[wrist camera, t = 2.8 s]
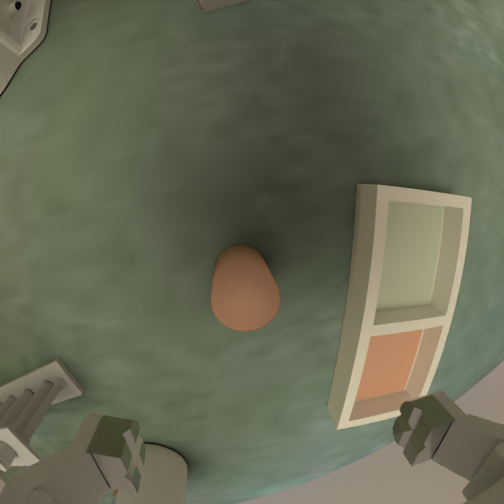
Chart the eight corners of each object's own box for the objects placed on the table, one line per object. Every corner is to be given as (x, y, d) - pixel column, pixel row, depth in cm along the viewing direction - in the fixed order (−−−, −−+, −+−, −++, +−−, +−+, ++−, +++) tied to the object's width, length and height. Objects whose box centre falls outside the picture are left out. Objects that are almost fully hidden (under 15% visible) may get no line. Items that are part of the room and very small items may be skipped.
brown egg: (213, 244, 22) (210, 267, 16) (267, 244, 23) (281, 267, 17) (214, 295, 23) (211, 331, 17) (265, 294, 24) (278, 330, 18)
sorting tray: (356, 183, 22) (377, 184, 19) (446, 194, 23) (471, 197, 20) (326, 407, 27) (336, 429, 24) (406, 391, 28) (420, 409, 25)
